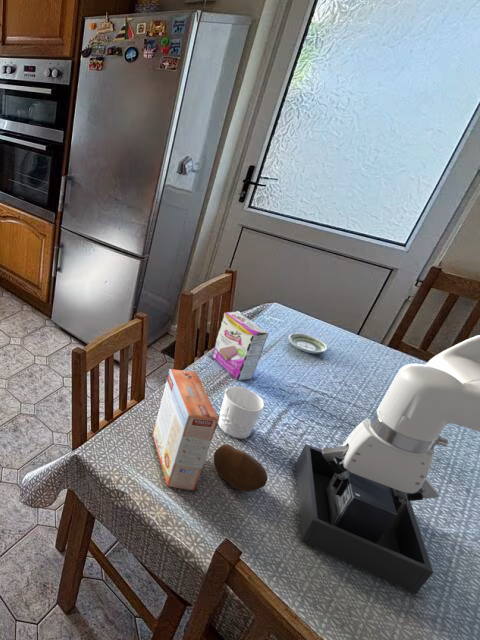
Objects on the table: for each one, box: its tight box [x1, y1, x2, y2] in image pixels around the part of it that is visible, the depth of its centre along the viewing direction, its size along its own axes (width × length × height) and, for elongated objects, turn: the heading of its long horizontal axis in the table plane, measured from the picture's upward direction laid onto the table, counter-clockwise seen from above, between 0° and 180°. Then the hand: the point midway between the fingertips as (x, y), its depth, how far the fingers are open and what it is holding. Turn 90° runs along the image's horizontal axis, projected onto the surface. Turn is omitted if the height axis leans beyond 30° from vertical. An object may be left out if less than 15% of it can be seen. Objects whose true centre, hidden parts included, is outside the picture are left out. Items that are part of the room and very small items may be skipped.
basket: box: [295, 443, 434, 595], centre depth 79 cm, size 16×20×7 cm
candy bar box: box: [211, 310, 269, 381], centre depth 118 cm, size 11×5×16 cm, turn 9°
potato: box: [213, 443, 268, 492], centre depth 87 cm, size 7×10×8 cm
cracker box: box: [152, 368, 219, 491], centre depth 89 cm, size 14×6×21 cm, turn 170°
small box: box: [325, 457, 397, 544], centre depth 78 cm, size 11×6×10 cm, turn 147°
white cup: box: [217, 385, 265, 439], centre depth 99 cm, size 8×8×10 cm
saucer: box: [288, 332, 328, 354], centre depth 128 cm, size 10×10×2 cm
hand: (360, 498), depth 78 cm, fingers closed on small box, 6 cm apart
